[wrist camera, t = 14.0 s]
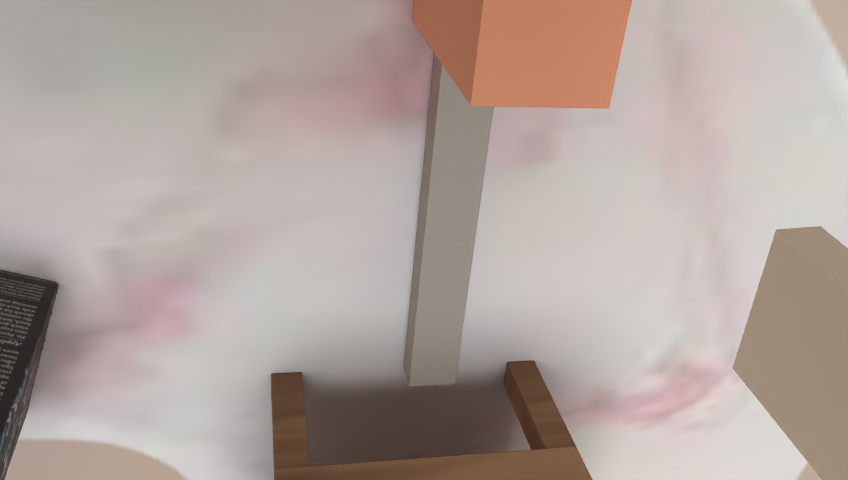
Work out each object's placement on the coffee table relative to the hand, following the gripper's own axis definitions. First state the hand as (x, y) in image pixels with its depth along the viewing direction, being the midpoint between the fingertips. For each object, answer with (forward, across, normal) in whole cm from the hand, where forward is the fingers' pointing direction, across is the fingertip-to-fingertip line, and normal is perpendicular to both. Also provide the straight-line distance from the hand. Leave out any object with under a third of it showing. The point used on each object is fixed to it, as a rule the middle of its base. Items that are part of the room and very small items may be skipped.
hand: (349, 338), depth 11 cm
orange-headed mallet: (+23, +7, -9) cm, 25 cm away
